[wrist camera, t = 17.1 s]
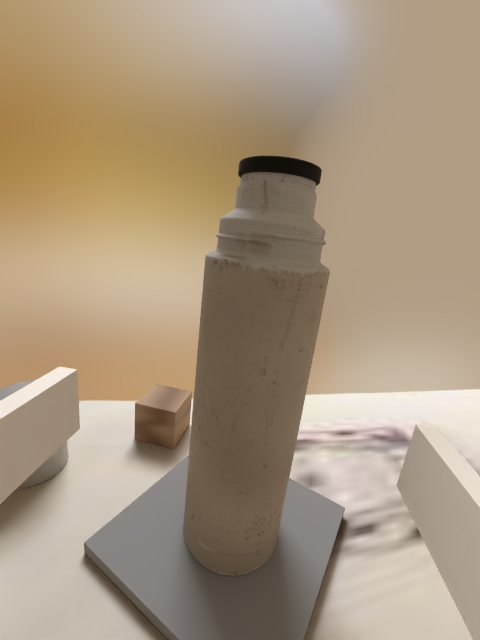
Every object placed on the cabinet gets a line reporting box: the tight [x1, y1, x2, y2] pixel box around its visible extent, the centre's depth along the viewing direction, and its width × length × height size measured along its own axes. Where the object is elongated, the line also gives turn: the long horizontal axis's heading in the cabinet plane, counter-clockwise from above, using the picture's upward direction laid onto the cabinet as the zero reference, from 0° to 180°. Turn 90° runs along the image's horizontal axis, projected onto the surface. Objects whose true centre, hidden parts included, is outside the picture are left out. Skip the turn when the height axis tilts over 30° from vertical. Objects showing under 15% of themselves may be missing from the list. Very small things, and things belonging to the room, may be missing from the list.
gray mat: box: [84, 456, 345, 640], centre depth 25 cm, size 16×16×1 cm
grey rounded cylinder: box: [0, 380, 68, 489], centre depth 29 cm, size 6×6×8 cm
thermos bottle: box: [183, 156, 330, 576], centre depth 21 cm, size 8×8×28 cm
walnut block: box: [135, 384, 192, 449], centre depth 36 cm, size 5×5×5 cm
